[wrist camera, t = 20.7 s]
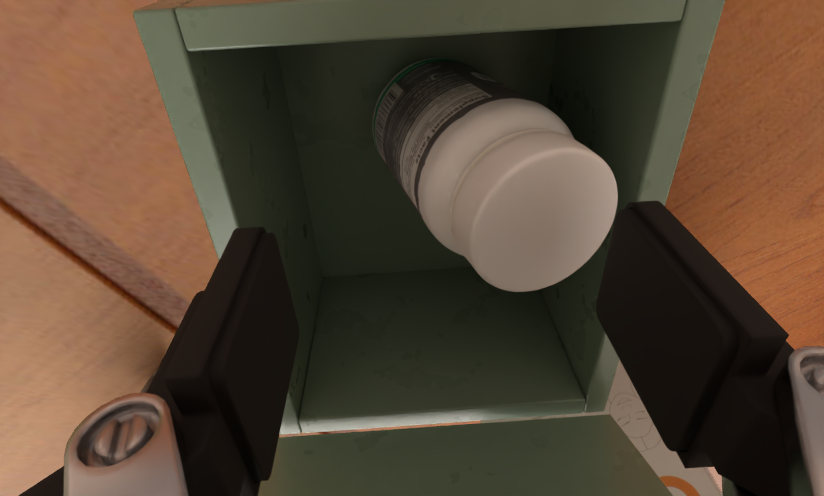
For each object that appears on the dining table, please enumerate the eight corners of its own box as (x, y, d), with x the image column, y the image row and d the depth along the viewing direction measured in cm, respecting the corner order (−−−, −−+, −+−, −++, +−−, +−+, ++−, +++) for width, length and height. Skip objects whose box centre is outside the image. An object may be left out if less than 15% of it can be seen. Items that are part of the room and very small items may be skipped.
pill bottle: (503, 134, 19) (647, 241, 13) (405, 198, 20) (497, 336, 13) (458, 26, 17) (613, 90, 10) (344, 101, 17) (421, 214, 10)
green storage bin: (243, -31, 16) (130, 10, 9) (580, -51, 16) (735, -27, 9) (311, 280, 24) (279, 435, 17) (539, 264, 24) (605, 412, 17)
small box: (505, 401, 30) (571, 664, 20) (463, 341, 27) (514, 618, 16) (631, 354, 28) (780, 619, 18) (601, 283, 25) (763, 556, 14)
